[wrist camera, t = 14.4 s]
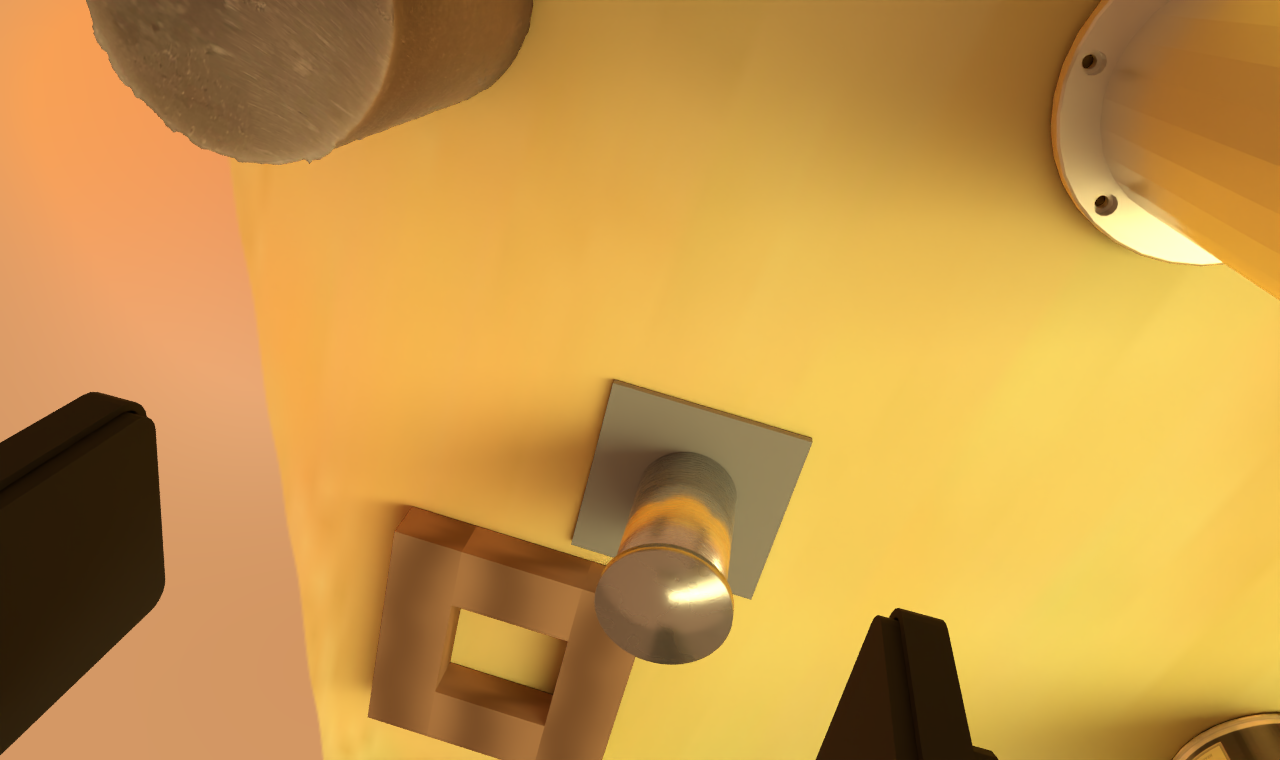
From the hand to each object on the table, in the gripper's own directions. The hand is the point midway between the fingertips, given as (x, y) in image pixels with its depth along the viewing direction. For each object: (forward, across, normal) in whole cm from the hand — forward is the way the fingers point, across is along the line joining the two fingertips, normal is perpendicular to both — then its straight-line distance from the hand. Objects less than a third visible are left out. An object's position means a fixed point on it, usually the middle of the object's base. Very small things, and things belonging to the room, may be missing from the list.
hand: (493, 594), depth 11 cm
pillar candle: (+30, +14, -4) cm, 33 cm away
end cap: (+29, -2, +17) cm, 34 cm away
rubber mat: (+30, -2, +17) cm, 34 cm away
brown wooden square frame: (+30, +5, +29) cm, 42 cm away
